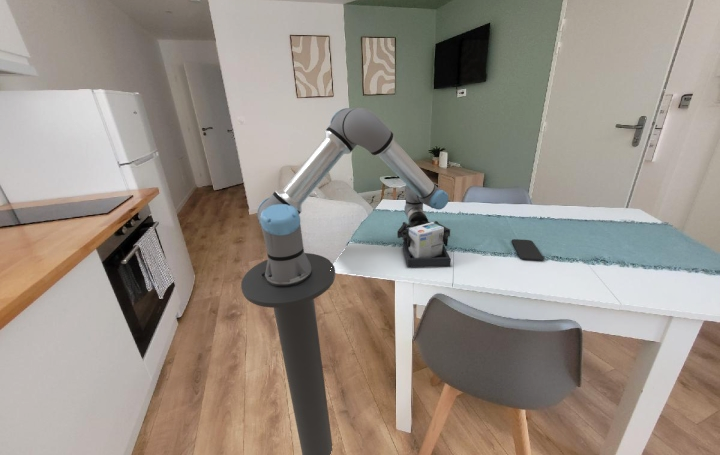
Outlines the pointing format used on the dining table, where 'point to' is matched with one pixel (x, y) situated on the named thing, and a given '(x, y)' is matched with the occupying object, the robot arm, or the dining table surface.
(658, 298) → the dining table surface
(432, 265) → the pad
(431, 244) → the light bulb box
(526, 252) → the phone
